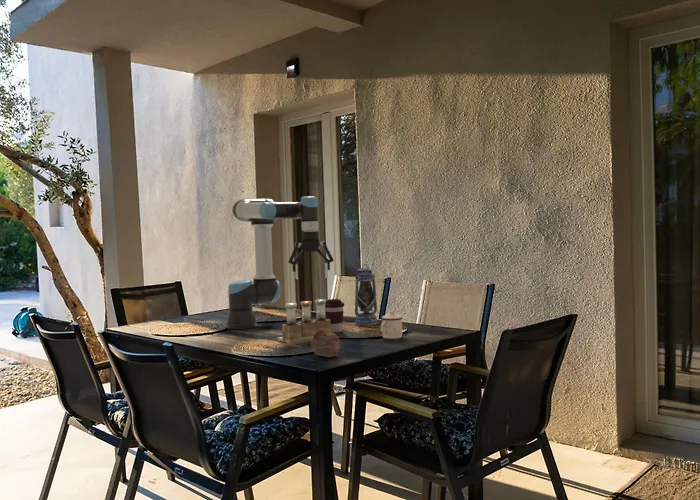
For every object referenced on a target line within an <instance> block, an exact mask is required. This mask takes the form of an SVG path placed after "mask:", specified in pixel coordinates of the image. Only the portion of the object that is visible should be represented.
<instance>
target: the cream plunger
mask: <svg viewBox="0 0 700 500" xmlns="http://www.w3.org/2000/svg"><path fill="white" fill-rule="evenodd" d="M284 307H285V308H286V324H287V325H288V326H292V325H296V323H297V307H298V306H297V302H290V303H289V302H288V303H285V304H284Z"/></svg>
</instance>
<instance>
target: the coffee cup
mask: <svg viewBox="0 0 700 500" xmlns="http://www.w3.org/2000/svg"><path fill="white" fill-rule="evenodd" d="M325 300H326V303H325V315H326V319H328V320H331V333H334V334H336V333H341V332H342V331H343V323H344V307H345V302H343V301H342V300H341V299H340V298H329V299H325ZM335 332H336V333H335Z"/></svg>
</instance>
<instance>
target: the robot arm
mask: <svg viewBox="0 0 700 500" xmlns="http://www.w3.org/2000/svg"><path fill="white" fill-rule="evenodd" d="M318 203H319V202H318V198H317V197H316V196H301V198H300V201H299V202H298V201H296V202H295V201H294V202H293V201H290V202H289V201H284V202H280V201H274V200H273V199H271V198H241V199H239V200H238V201H236V202H234V204H233V206H232V211H231V212H232V215H233V216H234V218H235V219H236V220H238V221H241V222H247V223H248V222H249V223H250V226H251V227H252V228H254V230H253V231H254V250H255V251H254V253H255V257H254V258H255V275H254V277H253V278H252V279H253V281H252V280H251V279H241V280H236V281H232V282H231V283H229V284H228V289H227V290H228V291H227V293H228V310H229V311H228V314H227V319H226V323H225V326H226V329H228V330H244V329H253V328H255V327H257V320H256V317H255V314H254V311H253V306H254V305H255V306H256V305H263V304H264V305H266V304H272V303H275V302H277V301H278V300H279V298H280V296H281V292H282V291H281V290H282V288H281V283H280V281H279V280H277V278H276V275H274V274H273V273H274V270H273V248H272V247H273V245H272V244H273V243H272V241H273V240H272V228H273V226H274V225H275V223H274V222H276V221H277V220H284V219H285V220H287V219H289V220H291V219H292V220H298V219H299V220H300V219H301V220H300V221H301V231H302V232H301V242H295V243H294V248H293V249H292V253H291V255H290V256H289V257H290V258H289V259H288V261H287V262H288V264H291V265H292V272H294V274H295V275H294V276H295V277H294V279H295V280H299V277H298V275H299V274H298V271H299V269H298V264H297V263H298V262H299V261H300V259H301V258H302V257H303V255H304V254H305V253H306V252H307V253H310V252H312V253H315V252H316V253H318V255H319V257H321V258H322V259H323V260H324V261H325V262H324V278H325V279H328V278H329V271H330V270H331V263H333V262H334V257H333V256H332V254H331V252H330V250H329V248H328V246H327V242H326V241H325V240H324V241H320V239H319V238H320V235H319V204H318ZM320 246H321V247H323V250H324V251H325V253H326V255H327V256H326V255H325V254H324V253H323V252H322V251H321V249H320V248H319V247H320ZM300 247H302V249H301V251H299V252H300V253H299V254H297V252H298V249H299V248H300ZM296 254H297V256H296ZM295 256H296V257H295ZM327 257H328V258H327Z"/></svg>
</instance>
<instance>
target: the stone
mask: <svg viewBox="0 0 700 500" xmlns="http://www.w3.org/2000/svg"><path fill="white" fill-rule="evenodd" d="M334 334H335V333H334ZM334 334H331V335H327V334H326V333H324V331H322V330H320V331H319V332H317V333H316V334H315V335H314V337H313V339H312V341H311V345H312V350H313V353H314V354H315V355H317V356H321V357H324V358H326V357H327V358H332V357H333V358H334V357H335V356H337V355H338V353H339V350H340V347H341V342H340V337H339V336H338V335H337V334H336V335H334Z"/></svg>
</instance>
